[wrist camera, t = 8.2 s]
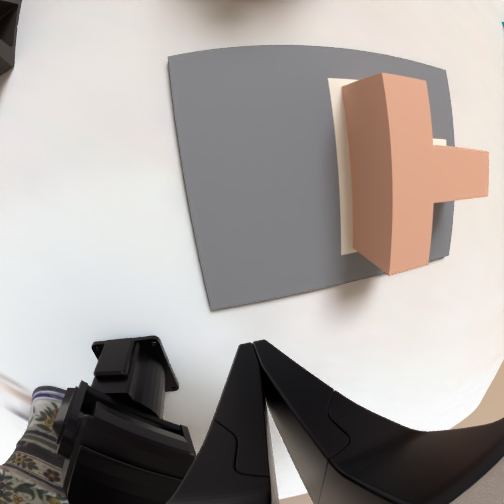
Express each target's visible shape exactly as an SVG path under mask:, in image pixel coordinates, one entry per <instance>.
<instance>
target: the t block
mask: <svg viewBox="0 0 504 504" xmlns="http://www.w3.org/2000/svg"><path fill="white" fill-rule="evenodd" d="M342 91H343V98H344V105H345V113H346V122H347V131H348V141H349V152H350V165H351V181H352V203H353V248H354V249H355V250H356V251H358V252H359V253H360V254H362V255H363V256H364V257H366V258H367V259H368V260H369V261H371V262H372V263H373V264H375V265H376V266H377V267H378V268H380V269H381V270H382V271H384V272H385V273H386V274H387V275H389V276H390V275H394V274H397V273H401V272H404V271H408V270H411V269H415V268H418V267H422V266H425V265H428V261H429V253H430V245H431V234H432V222H433V204H434V203H438V202H446V201H454V200H462V199H470V198H479V197H487V196H488V184H489V152H486V151H480V150H474V149H468V148H460V147H453V146H443V145H433V134H432V122H431V113H430V104H429V97H428V90H427V84H426V81H424V80H420V79H415V78H410V77H405V76H400V75H394V74H388V73H379V74H376V75H373V76H370V77H367V78H364V79H361V80H358V81H355V82H352V83H350V84H347V85H344V86H342Z"/></svg>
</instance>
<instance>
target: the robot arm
mask: <svg viewBox="0 0 504 504" xmlns="http://www.w3.org/2000/svg"><path fill="white" fill-rule="evenodd" d="M152 341H155V342H156V343H153V342H152ZM97 347H98V348H97ZM92 350H93V352H94V354H95V356H96V357H97V359H98V363H97V365H96V368H95V370H94V376H95V377H94V380H93V382H92V385H91V386H89V385H88V383H86V382H84V381H82V380H81V382H80V385H79V387H75V388H67V391H66V393H65V396H64V398H63V401H62V403H61V406H60V408H59V411H58V413H57V416H56V418H55V421H54V424H53V426H52V430H53V432H54V434H55V436H56V438H57V441H56V444H58V448H57V453H56V454H57V455H59V456H61V457H63V458H65V461H64V464H63V468H62V483H63V490H64V493H65V495H66V498H67V500H68V503H69V504H279V498H278V490H277V483H276V475H275V467H274V459H273V451H272V444H271V436H270V428H269V420H268V412H267V406H268V408H269V411H270V413H271V415H272V417H273V420H274V422H275V424H276V426H277V429H278V431H279V433H280V435H281V437H282V440H283V442H284V444H285V446H286V448H287V450H288V452H289V454H290V457H291V459H292V461H293V463H294V465H295V467H296V469H297V471H298V473H299V475H300V477H301V479H302V481H303V483H304V485H305V487H306V489H307V491H308V493H309V495H310V497H311V499H312V501H313V503H314V504H504V418H502V419H500V420H498V421H495V422H493V423H489V424H485V425H480V426H474V427H468V428H460V429H452V430H442V431H429V432H427V431H418V430H414V429H410V428H408V427H405V426H403V425H400V424H398V423H396V422H393V421H391V420H389V419H387V418H384V417H382V416H380V415H378V414H376V413H374V412H371V411H369V410H367V409H366V408H364V407H362V406H360V405H358V404H356V403H354V402H353V401H351V400H350V399H348V398H346V397H345V396H343V395H342V394H340V393H339V392H337V391H336V390H335V391H334V389H333V388H331V387H330V386H328V385H327V384H325V383H324V382H323V381H321V380H320V379H318V378H317V377H315V376H314V375H313V374H311V373H310V372H308V371H307V370H306V369H304V368H303V367H301V366H300V365H299V364H297V363H296V362H294V361H293V360H292V359H290V358H289V357H288V356H286V355H285V354H284V353H282V352H281V351H280V350H278V349H277V348H276V347H274V346H273V345H272V344H270V343H269V342H268V341H266V340H259V341H254V342H253V343H245V344H240V345H239V346H238V349H237V352H236V355H235V358H234V361H233V364H232V367H231V369H230V372H229V375H228V378H227V381H226V384H225V386H224V389H223V392H222V395H221V398H220V401H219V403H218V406H217V409H216V412H215V414H214V417H213V420H212V422H211V425H210V428H209V431H208V433H207V435H206V438H205V440H204V443H203V445H202V447H201V449H200V451H199V452H198V454H197V456H196V453H195V450H194V447H193V444H192V440H191V437H190V434H189V431H188V427H186V426H183V425H177V424H174V423H171V422H169V421H166V420H163V409H164V397H165V392H168V391H176V390H178V389H179V383H178V381H177V379H176V377H175V374H174V372H173V370H172V368H171V365H170V363H169V361H168V358H167V356H166V353H165V351H164V348H163V346H162V343H161V341H160V339H159V338H158V337H157V336H146V337H137V338H125V339H115V340H107V341H97V342H94V343H93V344H92ZM266 403H267V405H266Z"/></svg>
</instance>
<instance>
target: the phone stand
mask: <svg viewBox="0 0 504 504" xmlns="http://www.w3.org/2000/svg"><path fill="white" fill-rule="evenodd" d="M21 2H22V0H0V75H1V74H2V73H4V72H5V71H6V70H8V69H9V68H11V67H12V66H14V61H15V46H16V35H17V25H18V20H19V13H20V7H21Z"/></svg>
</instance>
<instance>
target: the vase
mask: <svg viewBox="0 0 504 504" xmlns="http://www.w3.org/2000/svg"><path fill="white" fill-rule="evenodd" d="M65 393H66V391H65V390H63V389H60V388H56V387H52V386H41V387H38V388H36V389H35V390H34V392H33V395H32V403H31V410H30V416H29V422H28V426H27V429H26V431H25V433H24V435H23V437H22V438H21V439H20V440H19V441H18V443H17V445H16V449H15V451H14V452H13V454H12V455H11V456H10V458H9V459H8V460H7V461H6V462H5V464H3V465H1V466H0V504H69V503H68V500H67V498H66V495H65V493H64V490H63V483H62V468H63V464H64V461H65V458H63V457H61V456H59V455H57V454H56V453H57V448H58V444H56V441H57V438H56V436H55V434H54V432H53V430H52V426H53V424H54V421H55V418H56V416H57V413H58V411H59V408H60V406H61V403H62V401H63V398H64V396H65Z"/></svg>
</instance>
